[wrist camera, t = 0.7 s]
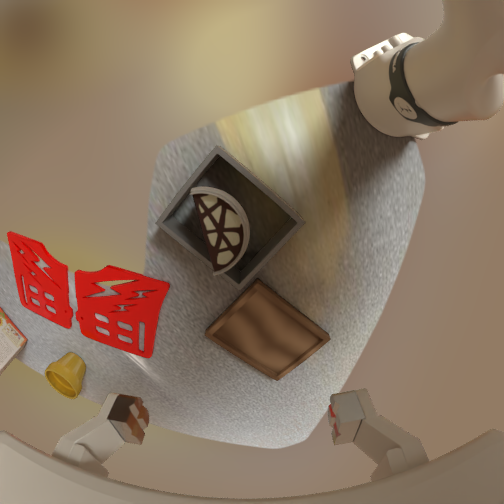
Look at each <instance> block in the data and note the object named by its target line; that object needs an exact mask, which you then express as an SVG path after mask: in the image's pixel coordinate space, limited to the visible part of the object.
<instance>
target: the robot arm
mask: <svg viewBox="0 0 504 504" xmlns="http://www.w3.org/2000/svg"><path fill="white" fill-rule="evenodd" d="M442 3H443V11H444V14H443V21H442V24H441V25H440V27H439V29H438V30H436V31H435V32H434V33H433V34H431V35H430V36H429V37H427V38H426V39H423V38H420V37H415V38H413V37H412V36H410V35H408V34H406V33H401V34H399V35H396V36H394V37H392V38H390V39H387V40H385V41H383V42H381V43H379V44H377V45H375V46H373V47H371V48H369V49H367V50H365V51H363V52H361V53H359V54H357V55H355V56H353V57H352V58H351V66H352V69H353V72H354V76H355V78H354V94H355V99H356V102H357V105H358V107H359V109H360V111H361V113H362V114H363V116H364V117H365V118H366V120H367V121H368V122H369V123H370V124H371V125H372V126H373V127H375V128H376V129H377V130H379V131H380V132H382V133H384V134H387V135H390V136H394V137H403V136H412V137H414V138H417V139H426V138H427V137H428V135H429V133H432V132H437V131H441V130H443V128H444V126H449V125H452V124H455V123H457V122H459V121H473V120H474V121H475V120H487V119H489V118H491V117H493V116H494V115H495V114H496V113H497V112H498V111H499V110H500V108H501V107H502V104H503V101H504V77H503V74H504V0H442ZM361 58H363V59H364V61H363V60H362V59H361ZM330 402H331V404H330V405H329V406H328V421H329V425H330V426H331V427H333V429H332V433H331V434H332V438H333V442H334V445H338V444H344V443H350V442H353V443H354V444H355V445H356V446H357V447H358V448H360V449H361V450H362V451H363V452H364V453H365V454H366V455H367V456H369V457H370V458H371V459H372V460H373V461H374V462H376V463H377V464H378V466H377V468H376V469H375V470H374V472H373V473H372V475H371V476H370V477H371V480H372V482H368V483H365V484H361V485H357V486H352V487H348V488H343V489H339V490H333V491H328V492H322V493H316V494H309V495H302V496H291V497H279V498H258V499H235V498H213V497H200V496H192V495H184V494H177V493H170V492H165V491H159V490H154V489H149V488H144V487H140V486H136V485H132V484H128V483H124V482H121V481H117V480H114V479H110V478H107V477H108V474H109V472H108V470H107V469H106V468H104V467H103V466H102V465H101V464H102V463H104V462H105V461H106V460H107V459H108V458H109V457H110V456H111V455H113V454H114V453H115V452H116V451H117V450H118V449H119V448H120V447H121V446H123V445H124V444H125V442H128V443H134V444H140V445H141V444H142V441H143V438H144V435H145V433H144V431H143V429H145V428H146V427H147V426H148V423H149V413H148V410H147V408H145V407H144V406H143V405H142V404H143V401H142V399H141V398H140V397H134V396H128V395H122V394H117V393H110V394H108V396H107V398H106V400H105V402H104V404H103V406H102V408H101V410H100V412H99V414H98V416H97V417H95V416H94V417H93V418H91V419H90V420H88V421H86V422H85V423H83V424H82V425H80V426H78V427H77V428H75V429H74V430H72V431H70V432H69V433H67V434H65V435H64V436H62V437H61V438H60V440H59V442H58V444H57V446H56V448H55V450H54V452H53V454H52V456H51V455H49V454H47V453H45V452H43V451H41V450H39V449H37V448H35V447H33V446H31V445H29V444H27V443H26V442H24V441H22V440H20V439H19V438H17V437H15V436H14V435H12V434H11V433H9V432H7V431H0V504H504V432H502V431H499V430H496V429H490V430H488V431H486V432H485V433H483V434H481V435H480V436H478V437H477V438H475V439H473V440H471V441H469V442H468V443H466V444H464V445H462V446H460V447H458V448H456V449H454V450H452V451H450V452H448V453H446V454H444V455H442V456H440V457H438V458H436V459H433V460H431V461H429V459H428V457H427V455H426V452H425V450H424V448H423V446H422V443H421V441H420V439H419V438H417V437H415V436H413V435H412V434H410V433H409V432H407V431H405V430H404V429H402V428H401V427H399V426H397V425H396V424H394V423H393V422H391V421H389V420H388V419H386V418H385V417H383V416H382V415H379V416H378V415H377V412H376V410H375V408H374V405H373V403H372V400H371V398H370V395H369V393H368V391H367V389H365V388H364V389H359V390H353V391H347V392H342V393H336V394H332V395H331V396H330Z"/></svg>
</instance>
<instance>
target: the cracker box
mask: <svg viewBox="0 0 504 504" xmlns="http://www.w3.org/2000/svg"><path fill="white" fill-rule="evenodd" d="M26 342H27V338H26V337H25V336H24V335H23V334H22V333H21V332H20V331H19V329H18V328H17V327H16V326H15V325H14V324H13V322H12V321H11V320H10V319H9V318H8V316H7V315H6V314H5V313H4V311H3V310H2V309H1V307H0V375H1V374H2V372H3V371H4V370H5V369H6V368H7V366H8V365H9V364H10V363H11V361H12V360H13V359H14V358H15V357H16V356H17V355H18V354H19V353H20V351H21V350H22V349H23V348H24V347H25V344H26Z"/></svg>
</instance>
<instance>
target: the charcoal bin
mask: <svg viewBox="0 0 504 504" xmlns="http://www.w3.org/2000/svg"><path fill="white" fill-rule="evenodd" d="M219 156H221V157H222V158H224V159H225V160H226V161H227V162H229V163H230V164H231V165H232V166H233V167H235V168H236V169H237V170H238V171H239V172H240V173H242V174H243V175H244V176H245V177H246V178H248V179H249V180H250V181H251V182H252V183H253V184H255V185H256V186H257V187H258V188H259V189H260V190H261V191H263V192H264V193H265V194H266V195H267V196H268V197H269V198H271V199H272V200H273V201H274V202H275V203H276V204H277V205H279V206H280V207H281V208H282V209H283V210H284V211H285V212H286V213H287V214H289V215H290V216H291V218H290V219H289V220H288V222H287V223H286V224H285V225H284V226H283V227H282V228H281V229H280V230H279V231H278V232H277V233H276V234H275V235H274V236H273V238H272V239H271V240H270V241H269V242H268V243H267V244H266V245H265V246H264V247H263V248H262V249H261V250H260V251H259V252H258V253H257V255H256V256H255V257H254V258H253V259H252V260H251V261H250V262H249V263H248V264H247V265H246V266H245V267H244V268H243V269H242V270H241V271H239V270H238V269H237V268H236V267H234V266H233V267H232V268H231V269H229V270H228V271H226V272H224V273H222V274H219V275H220V276H221V277H222V278H223V279H225V280H226V281H227V282H229V283H230V284H231V285H232V286H234V287H235V288H236V289H238V290H239V291H240V290H241V289H242V288H243V287H244V286H245V285H246V284H247V283H248V282H249V281H250V280H251V279H252V278H253V277H254V276H255V275H256V274H257V273H258V272H259V270H260V269H261V268H262V267H263V266H264V265H265V264H266V263H267V262H268V261H269V260H270V259H271V258H272V257H273V256H274V255H275V254H276V253H277V252H278V251H279V250H280V249H281V248H282V247H283V246H284V245H285V243H286V242H287V241H288V240H289V239H290V238H291V237H292V236H293V235H294V234H295V233H296V232H297V231H298V230H299V229H300V228H301V227H302V226H303V225H304V224H305V221H304V220H303V218H302V217H301V216H300V215H299V214H298V213H297V212H296V211H295V210H294V209H293V208H292V207H291V206H290V205H288V204H287V203H286V202H285V201H284V200H283V199H282V198H281V197H280V196H278V195H277V194H276V193H275V192H274V191H273V190H272V189H271V188H269V187H268V186H267V185H266V184H265V183H264V182H263V181H261V180H260V179H259V178H258V177H257V176H256V175H254V174H253V173H252V172H251V171H250V170H249V169H247V168H246V167H245V166H244V165H243V164H242V163H240V162H239V161H238V160H237V159H236V158H234V157H233V156H232V155H231V154H229V153H228V152H227V151H226V150H225V149H223V148H222V147H221V146H217V145H216V147H215V148H214V149H213V150H212V151H211V152H210V154H209V155H208V156H207V157H206V158H205V160H204V161H203V162H202V163H201V164H200V166H199V167H198V168H197V169H196V171H195V172H194V173H193V174H192V176H191V177H190V178H189V179H188V181H187V182H186V183H185V184H184V186H183V187H182V188H181V190H180V191H179V192H178V193H177V195H176V196H175V197H174V199H173V200H172V201H171V203H170V204H169V205H168V207H167V208H166V209H165V211H164V212H163V213H162V215H161V216H160V218H159V219H158V220H157V222H156V223H155V224H157V225H158V226H159V227H160V228H161V229H163V230H164V231H165V232H166V233H167V234H169V235H170V236H171V237H172V238H173V239H175V240H176V241H177V242H178V243H180V244H181V245H182V246H183V247H185V248H186V249H187V250H188V251H189V252H191V253H192V254H193V255H194V256H196V257H197V258H198V259H199V260H201V261H202V262H203V263H204V264H206V265H207V266H208V267H209V268H211V269H212V270H213V271H214V269H213V266H212V262H211V259H210V256H209V252H208V249H207V246H206V243H205V242H203V241H202V240H201V239H200V238H198V237H197V236H196V235H195V234H194V233H192V232H191V231H190V230H189V229H187V228H186V227H185V226H184V225H183V224H181V223H180V222H179V221H178V220H177V219H175V218H174V217H173V216H172V215H173V213H174V212H175V211H176V209H177V208H178V207H179V205H180V204H181V203H182V201H183V200H184V199H185V198H186V196H187V195H188V194H189V193H190V191H191V189H192V188H194V186H195V185H196V184H197V183H198V181H199V180H200V179H201V178H202V176H203V175H204V174H205V173H206V172H207V170H208V169H209V168H210V167H211V166H212V164H213V163H214V162H215V161H216V160H217V158H218V157H219Z"/></svg>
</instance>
